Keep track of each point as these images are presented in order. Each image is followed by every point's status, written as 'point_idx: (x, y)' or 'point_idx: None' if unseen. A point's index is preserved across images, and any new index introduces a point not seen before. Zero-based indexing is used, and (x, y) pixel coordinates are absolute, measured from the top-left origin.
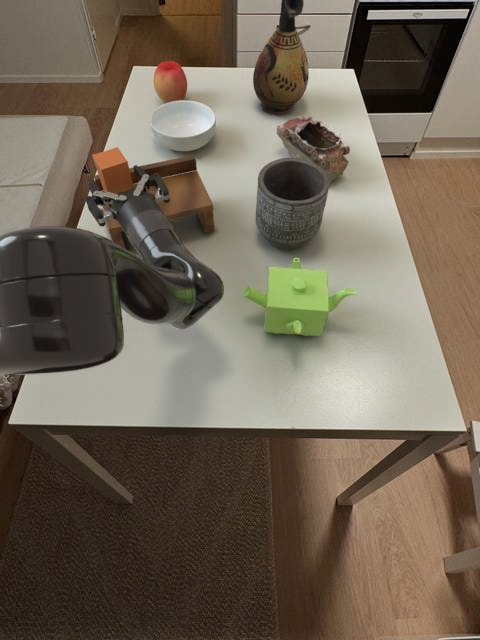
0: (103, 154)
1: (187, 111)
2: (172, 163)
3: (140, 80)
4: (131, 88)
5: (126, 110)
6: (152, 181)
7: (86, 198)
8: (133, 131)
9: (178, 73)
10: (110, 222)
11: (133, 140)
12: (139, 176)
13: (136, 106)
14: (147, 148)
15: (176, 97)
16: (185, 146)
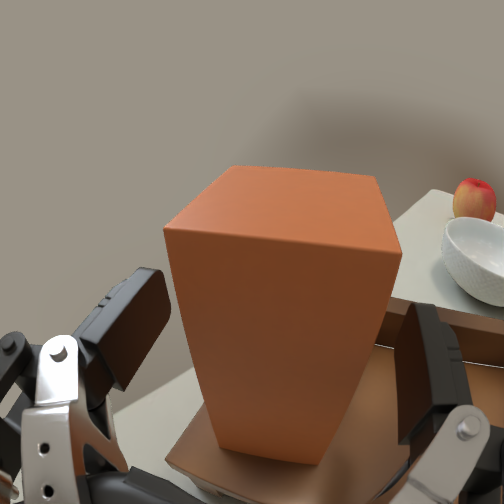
0: (279, 174)
1: (495, 242)
2: (501, 333)
3: (432, 197)
4: (420, 199)
5: (406, 214)
6: (480, 475)
7: (5, 342)
8: (407, 239)
9: (490, 194)
10: (192, 440)
11: (402, 250)
12: (420, 393)
13: (421, 215)
14: (420, 270)
15: None
16: (493, 294)
